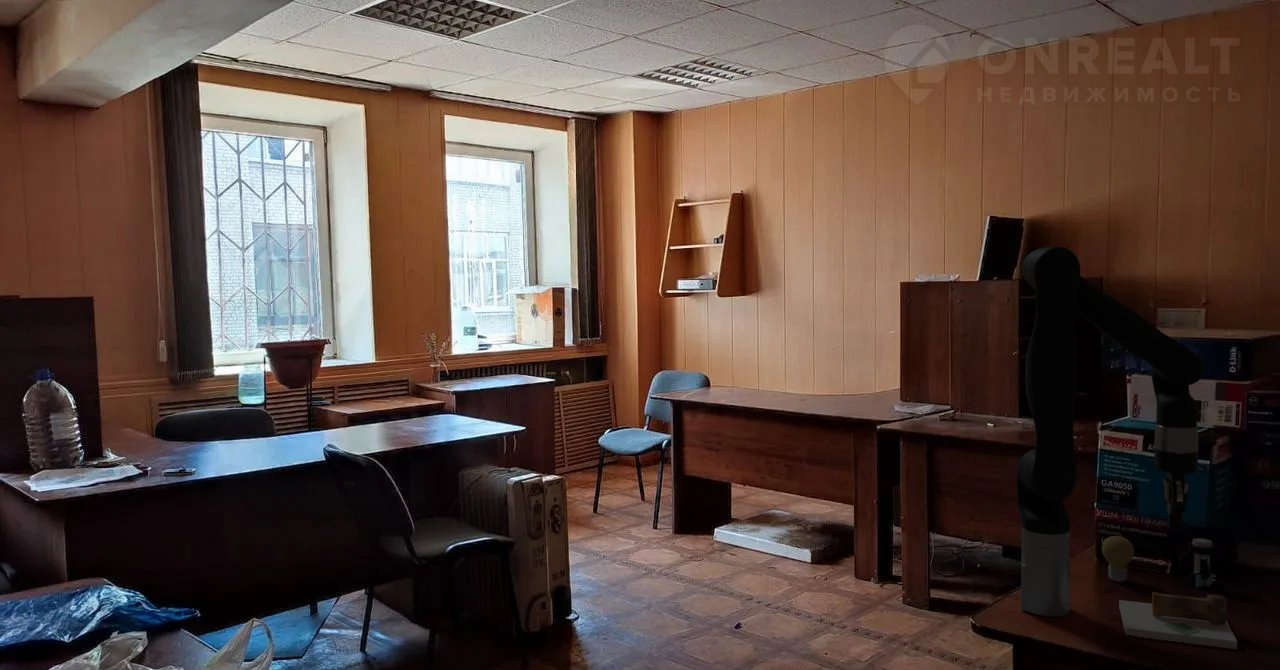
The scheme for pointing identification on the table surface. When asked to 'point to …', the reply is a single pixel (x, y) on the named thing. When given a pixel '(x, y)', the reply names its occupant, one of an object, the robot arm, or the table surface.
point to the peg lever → (1190, 607)
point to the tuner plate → (1173, 627)
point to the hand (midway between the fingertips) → (1175, 531)
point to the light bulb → (1117, 556)
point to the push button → (1201, 562)
